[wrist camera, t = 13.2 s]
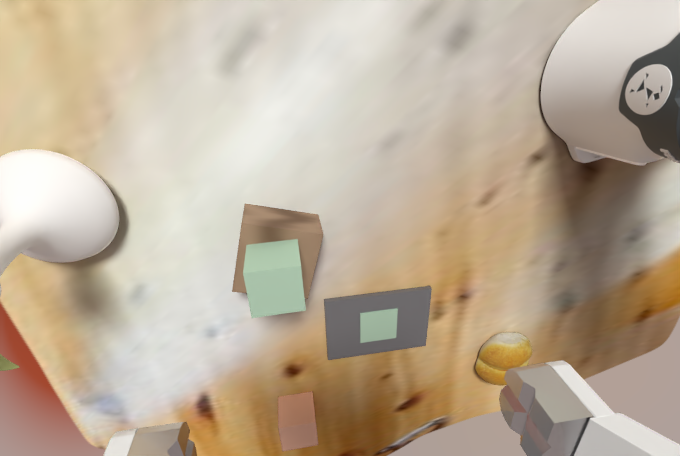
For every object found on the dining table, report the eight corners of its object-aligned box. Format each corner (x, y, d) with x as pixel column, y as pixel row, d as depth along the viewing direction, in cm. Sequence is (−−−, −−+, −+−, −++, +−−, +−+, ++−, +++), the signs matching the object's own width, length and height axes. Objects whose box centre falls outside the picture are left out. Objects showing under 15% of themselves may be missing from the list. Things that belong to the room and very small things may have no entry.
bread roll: (469, 375, 58) (481, 397, 55) (481, 332, 54) (495, 352, 51) (516, 370, 60) (531, 391, 56) (531, 328, 56) (549, 347, 52)
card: (429, 285, 48) (432, 289, 48) (424, 342, 53) (426, 346, 52) (324, 299, 47) (324, 303, 46) (327, 356, 51) (328, 361, 50)
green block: (297, 238, 37) (300, 265, 32) (301, 280, 39) (305, 310, 35) (246, 244, 36) (243, 273, 32) (254, 286, 38) (251, 318, 34)
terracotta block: (312, 390, 54) (315, 421, 50) (314, 413, 56) (318, 444, 52) (277, 396, 53) (278, 428, 49) (281, 418, 56) (282, 451, 51)
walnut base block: (317, 213, 41) (323, 234, 37) (304, 273, 45) (307, 298, 40) (245, 202, 39) (241, 223, 35) (236, 265, 43) (232, 291, 38)
